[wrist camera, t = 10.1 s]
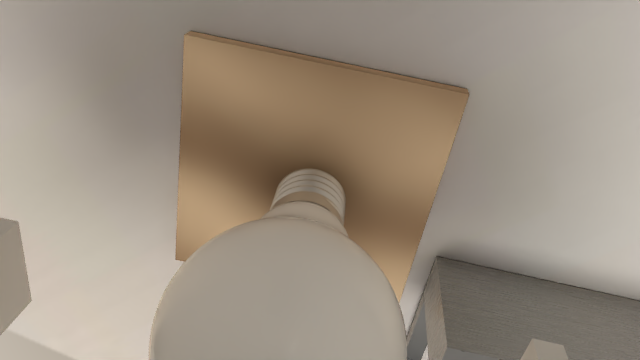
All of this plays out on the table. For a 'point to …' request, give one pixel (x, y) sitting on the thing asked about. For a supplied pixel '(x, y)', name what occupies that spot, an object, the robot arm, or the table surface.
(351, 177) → the cork pad
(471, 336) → the housing
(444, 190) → the table surface
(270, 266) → the lightbulb
